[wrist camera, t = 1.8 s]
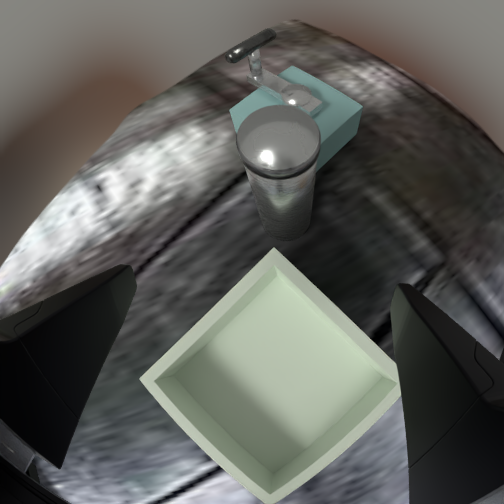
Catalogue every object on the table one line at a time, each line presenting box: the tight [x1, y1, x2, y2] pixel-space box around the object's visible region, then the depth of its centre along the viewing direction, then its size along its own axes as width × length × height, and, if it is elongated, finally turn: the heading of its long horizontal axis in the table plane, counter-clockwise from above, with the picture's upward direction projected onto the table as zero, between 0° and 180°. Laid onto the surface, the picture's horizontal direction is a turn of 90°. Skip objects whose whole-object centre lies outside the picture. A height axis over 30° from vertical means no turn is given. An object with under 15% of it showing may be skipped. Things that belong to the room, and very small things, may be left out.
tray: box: [139, 248, 401, 504], centre depth 19 cm, size 13×13×4 cm
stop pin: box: [236, 105, 321, 241], centre depth 19 cm, size 4×4×11 cm
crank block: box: [230, 66, 363, 172], centre depth 24 cm, size 8×8×4 cm
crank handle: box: [225, 28, 323, 117], centre depth 20 cm, size 7×5×5 cm
